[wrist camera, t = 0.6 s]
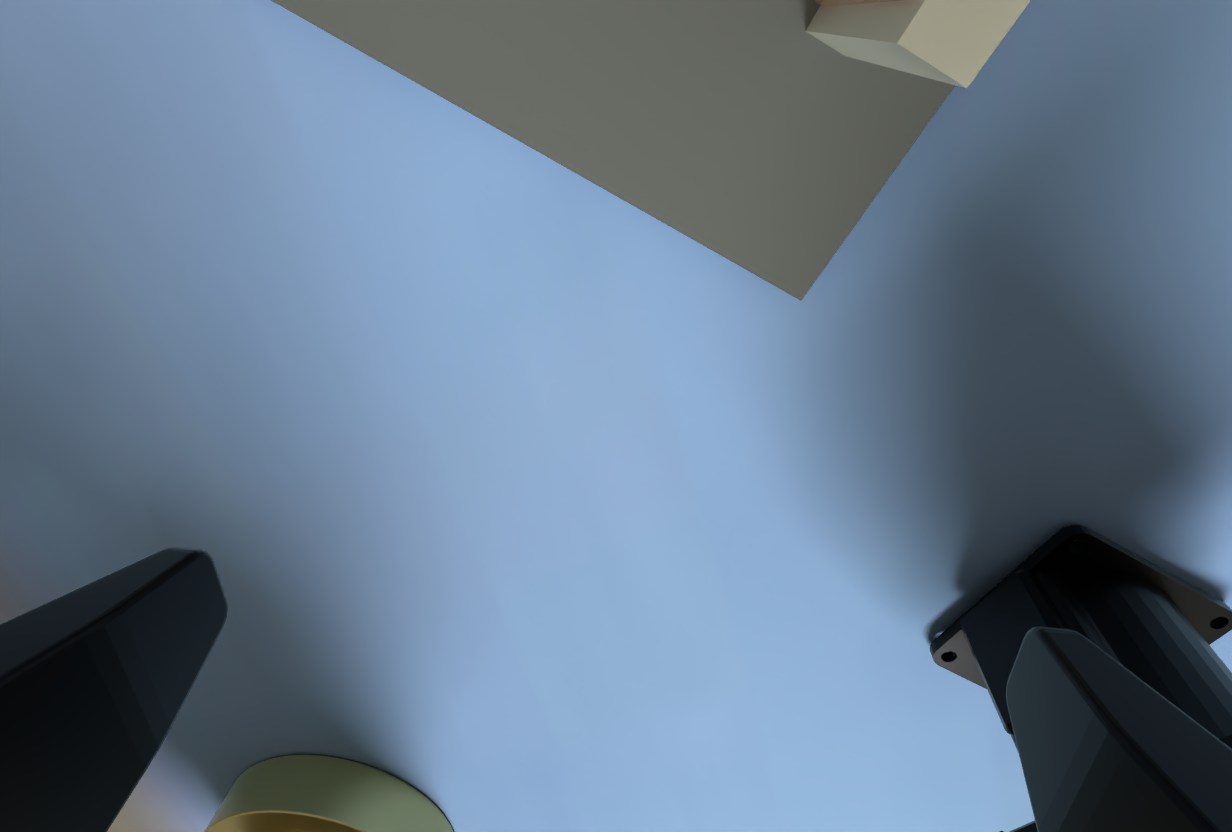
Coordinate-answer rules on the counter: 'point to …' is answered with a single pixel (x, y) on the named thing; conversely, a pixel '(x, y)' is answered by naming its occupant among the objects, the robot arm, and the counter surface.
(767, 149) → the mat
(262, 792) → the lamp
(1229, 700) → the robot arm
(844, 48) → the tile
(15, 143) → the counter surface
